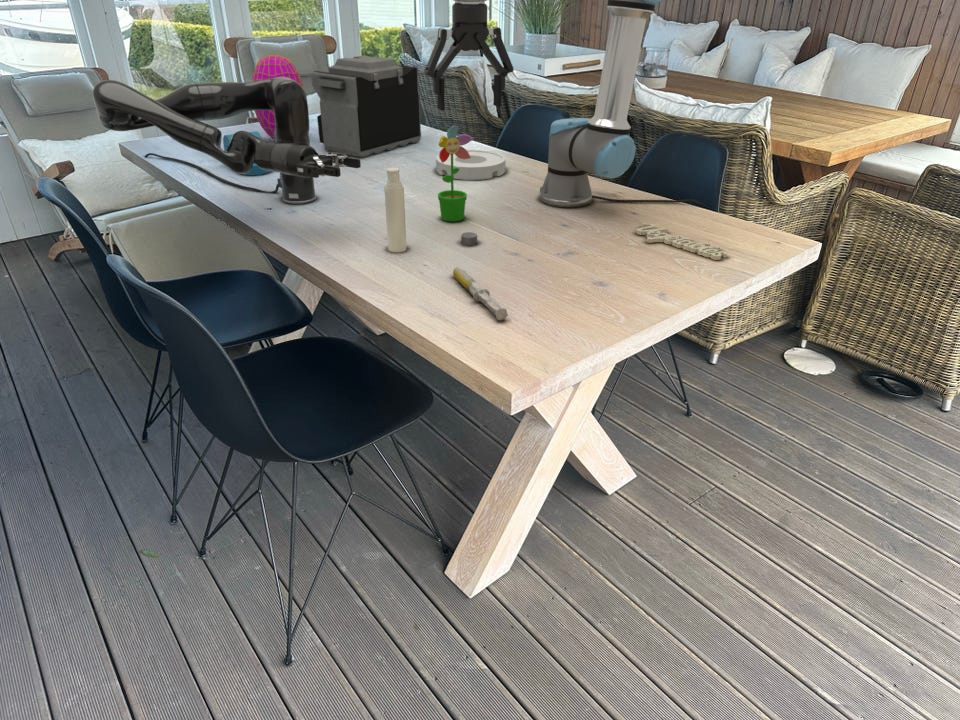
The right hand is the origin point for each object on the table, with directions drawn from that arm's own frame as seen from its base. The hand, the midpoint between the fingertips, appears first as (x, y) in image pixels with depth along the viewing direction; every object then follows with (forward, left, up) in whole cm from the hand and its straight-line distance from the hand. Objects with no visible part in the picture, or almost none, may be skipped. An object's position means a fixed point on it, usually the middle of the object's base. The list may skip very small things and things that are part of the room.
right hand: (469, 107), depth 156 cm
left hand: (+26, +12, -14) cm, 32 cm away
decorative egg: (+112, -67, -32) cm, 134 cm away
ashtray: (+29, -61, -32) cm, 75 cm away
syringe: (-16, +28, -32) cm, 45 cm away
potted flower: (+12, -15, -32) cm, 37 cm away
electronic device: (+77, -74, -32) cm, 112 cm away
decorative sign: (-47, -23, -32) cm, 62 cm away
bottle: (+14, +12, -32) cm, 37 cm away
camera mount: (+95, -29, -32) cm, 104 cm away
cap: (0, 0, -31) cm, 31 cm away
